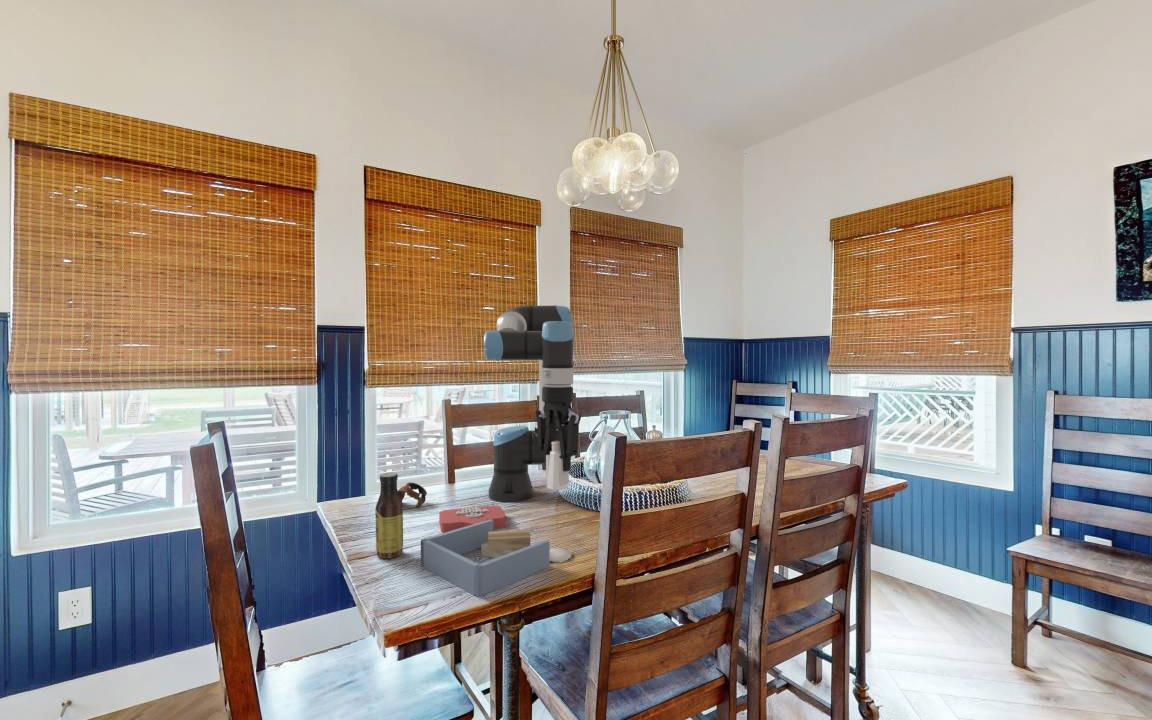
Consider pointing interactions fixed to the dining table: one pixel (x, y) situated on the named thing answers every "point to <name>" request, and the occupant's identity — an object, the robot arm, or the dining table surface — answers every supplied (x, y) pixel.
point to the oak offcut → (508, 540)
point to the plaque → (471, 517)
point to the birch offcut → (494, 553)
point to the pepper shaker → (554, 468)
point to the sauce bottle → (389, 518)
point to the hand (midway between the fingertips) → (557, 482)
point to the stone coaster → (559, 554)
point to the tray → (477, 578)
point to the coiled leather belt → (413, 493)
